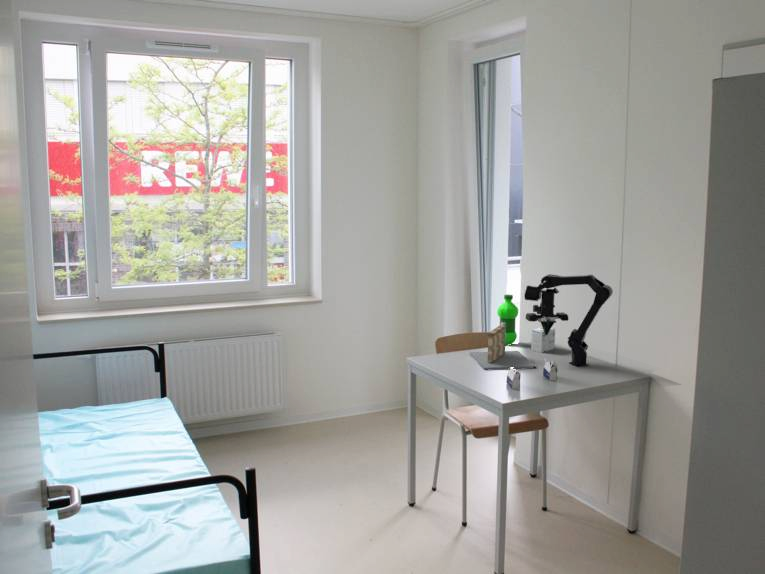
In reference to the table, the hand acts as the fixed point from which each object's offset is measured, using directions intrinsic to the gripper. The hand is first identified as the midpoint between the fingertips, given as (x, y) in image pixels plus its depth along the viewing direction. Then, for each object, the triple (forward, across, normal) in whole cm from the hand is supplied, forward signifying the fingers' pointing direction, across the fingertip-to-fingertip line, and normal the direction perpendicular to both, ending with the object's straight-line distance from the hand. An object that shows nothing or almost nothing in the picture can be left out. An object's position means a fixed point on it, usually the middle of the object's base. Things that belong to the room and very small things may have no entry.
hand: (546, 335), depth 316 cm
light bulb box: (+12, -6, -18) cm, 23 cm away
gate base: (+12, +21, -1) cm, 24 cm away
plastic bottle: (+12, +8, -32) cm, 35 cm away
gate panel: (+11, +23, -1) cm, 26 cm away
